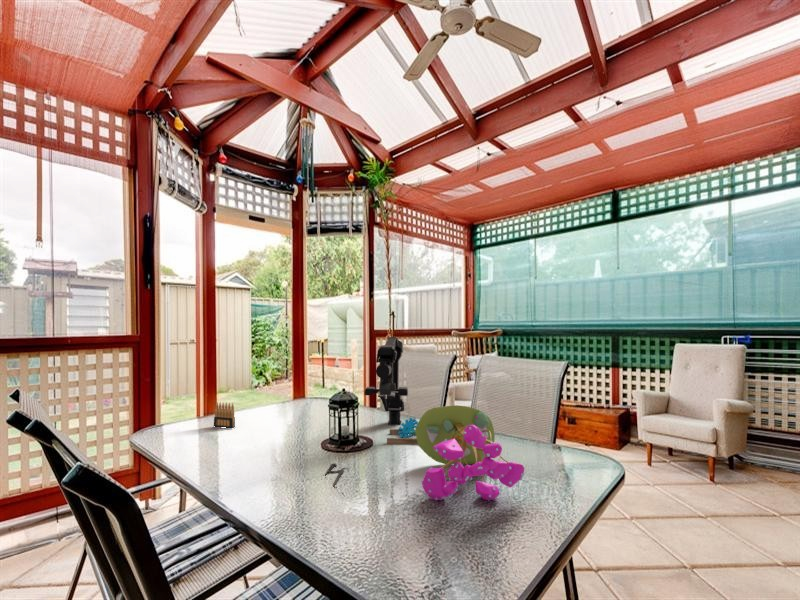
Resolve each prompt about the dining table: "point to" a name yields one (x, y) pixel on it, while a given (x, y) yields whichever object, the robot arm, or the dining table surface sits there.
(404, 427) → the blue flower
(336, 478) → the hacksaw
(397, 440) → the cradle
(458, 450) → the pink berry cluster
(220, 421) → the ammunition clip
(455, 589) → the dining table surface
